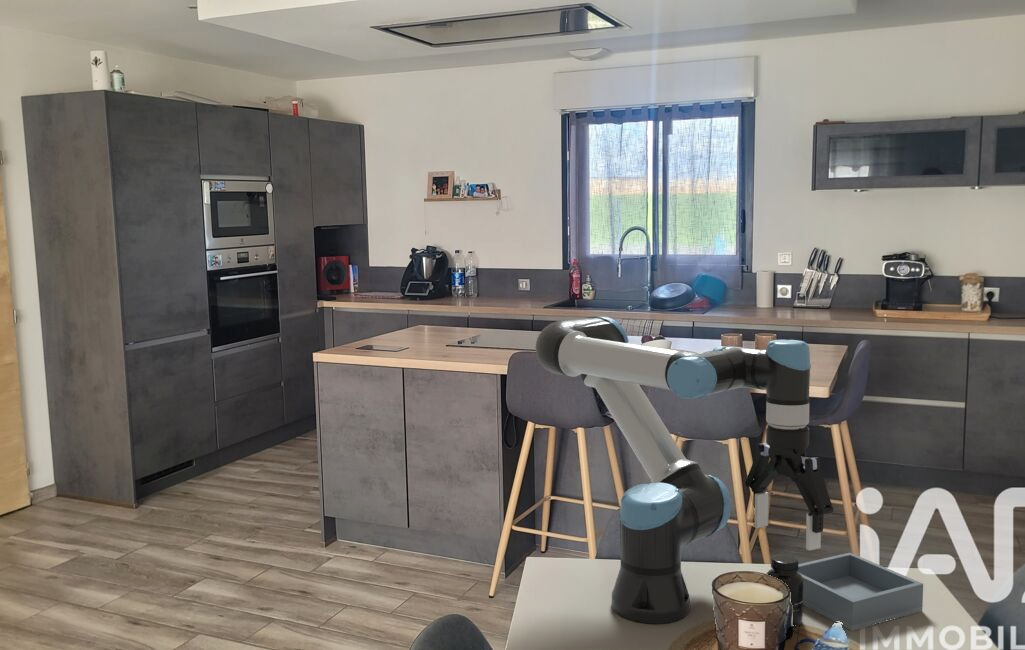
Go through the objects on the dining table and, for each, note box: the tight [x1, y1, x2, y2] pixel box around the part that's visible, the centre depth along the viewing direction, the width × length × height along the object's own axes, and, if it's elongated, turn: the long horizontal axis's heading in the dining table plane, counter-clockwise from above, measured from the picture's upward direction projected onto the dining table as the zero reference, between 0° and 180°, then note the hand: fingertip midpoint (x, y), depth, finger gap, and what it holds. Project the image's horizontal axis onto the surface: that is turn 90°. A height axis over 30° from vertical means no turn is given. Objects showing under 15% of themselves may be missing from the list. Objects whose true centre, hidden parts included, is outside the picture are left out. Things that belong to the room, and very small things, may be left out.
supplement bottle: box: [765, 553, 804, 626], centre depth 160 cm, size 7×7×12 cm
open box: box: [797, 552, 924, 632], centre depth 167 cm, size 18×18×6 cm
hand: (786, 537), depth 159 cm, fingers open, 13 cm apart
